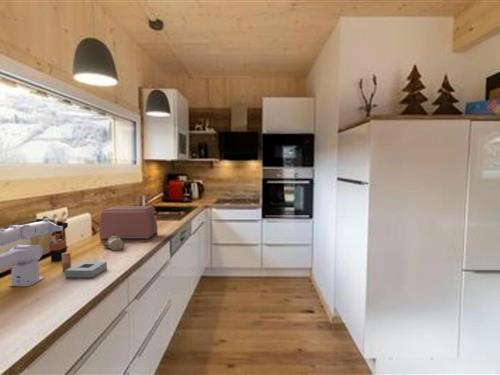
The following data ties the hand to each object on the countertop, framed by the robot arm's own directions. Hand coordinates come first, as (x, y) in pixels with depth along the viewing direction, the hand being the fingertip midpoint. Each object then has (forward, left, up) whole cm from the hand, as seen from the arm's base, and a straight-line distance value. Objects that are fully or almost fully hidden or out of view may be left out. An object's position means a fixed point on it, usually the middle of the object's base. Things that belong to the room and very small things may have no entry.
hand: (59, 224), depth 150 cm
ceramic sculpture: (+31, -10, -21) cm, 39 cm away
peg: (-6, -6, -20) cm, 22 cm away
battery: (+10, +9, -21) cm, 25 cm away
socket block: (-10, -18, -20) cm, 29 cm away
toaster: (+54, -10, -21) cm, 59 cm away
